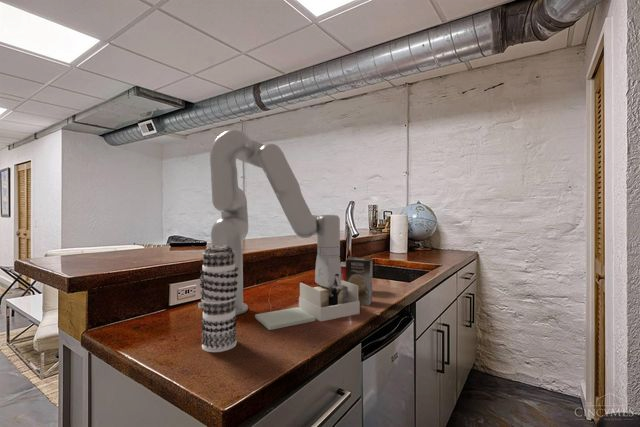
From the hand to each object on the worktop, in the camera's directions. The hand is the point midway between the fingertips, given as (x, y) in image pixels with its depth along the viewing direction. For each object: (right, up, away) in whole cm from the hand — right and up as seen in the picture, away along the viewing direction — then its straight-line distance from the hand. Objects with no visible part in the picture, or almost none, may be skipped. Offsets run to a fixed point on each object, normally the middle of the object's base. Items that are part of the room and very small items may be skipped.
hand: (328, 305), depth 109 cm
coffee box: (+11, -2, +10) cm, 15 cm away
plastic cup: (+10, -2, +26) cm, 28 cm away
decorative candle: (-28, -3, -27) cm, 39 cm away
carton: (0, -2, 0) cm, 2 cm away
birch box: (0, -2, 0) cm, 2 cm away
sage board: (-14, -2, -8) cm, 16 cm away
